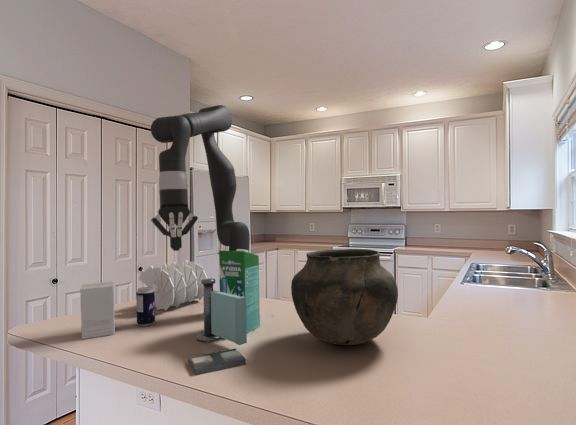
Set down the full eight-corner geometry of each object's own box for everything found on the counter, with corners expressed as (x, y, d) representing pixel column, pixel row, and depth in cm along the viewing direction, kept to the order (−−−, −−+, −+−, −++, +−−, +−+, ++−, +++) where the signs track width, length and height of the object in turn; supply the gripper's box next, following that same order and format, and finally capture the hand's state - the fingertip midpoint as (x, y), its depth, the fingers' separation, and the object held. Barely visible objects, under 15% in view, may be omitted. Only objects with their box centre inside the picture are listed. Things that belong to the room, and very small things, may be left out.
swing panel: (210, 334, 104) (209, 291, 104) (217, 331, 105) (216, 290, 106) (239, 345, 94) (238, 298, 94) (246, 342, 96) (245, 297, 96)
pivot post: (217, 332, 111) (216, 276, 111) (224, 339, 105) (223, 280, 105) (194, 336, 108) (193, 279, 108) (199, 343, 102) (198, 282, 102)
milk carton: (260, 326, 117) (258, 248, 117) (245, 334, 109) (243, 250, 109) (236, 323, 121) (234, 247, 121) (220, 331, 113) (218, 250, 113)
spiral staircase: (205, 309, 155) (159, 322, 133) (178, 288, 163) (130, 297, 141) (220, 271, 153) (176, 278, 131) (192, 252, 161) (146, 255, 139)
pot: (273, 357, 91) (271, 257, 91) (309, 321, 121) (308, 246, 121) (394, 372, 81) (392, 260, 81) (401, 329, 111) (400, 247, 111)
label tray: (235, 353, 94) (235, 346, 94) (246, 364, 87) (245, 357, 87) (188, 362, 89) (188, 355, 89) (195, 374, 82) (195, 367, 82)
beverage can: (151, 327, 118) (150, 289, 118) (133, 327, 118) (133, 290, 118) (157, 321, 124) (157, 286, 124) (141, 322, 124) (140, 286, 124)
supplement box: (114, 327, 119) (113, 281, 119) (114, 334, 111) (114, 285, 111) (82, 331, 115) (81, 283, 115) (80, 339, 107) (79, 288, 107)
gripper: (193, 189, 108) (196, 247, 108) (146, 189, 102) (149, 251, 102) (200, 187, 102) (203, 249, 102) (150, 187, 95) (153, 253, 95)
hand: (176, 250), depth 102 cm, fingers closed
